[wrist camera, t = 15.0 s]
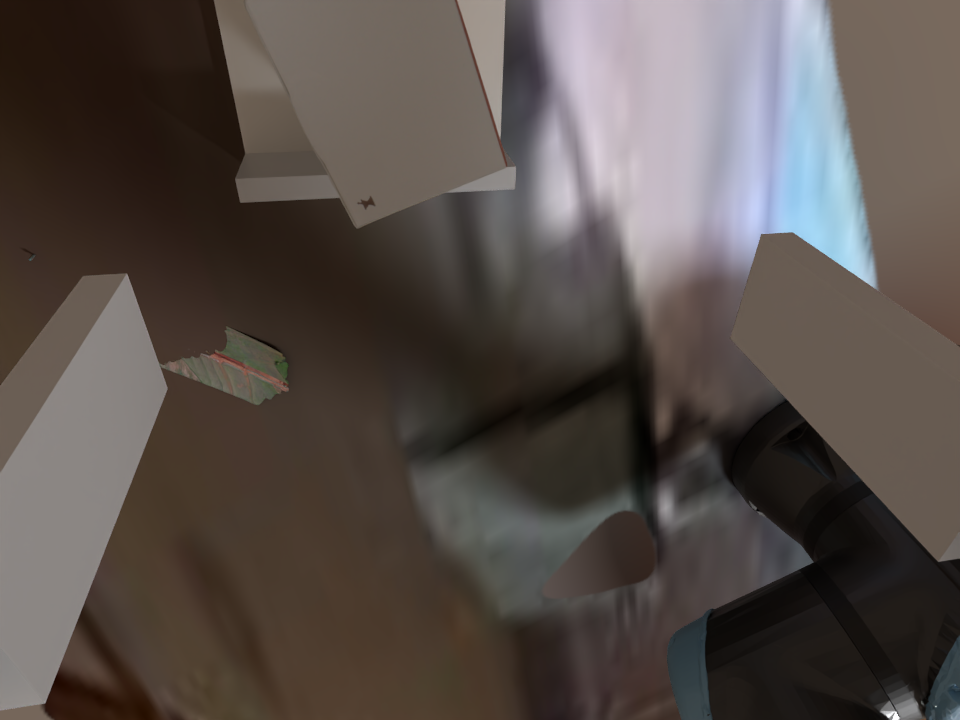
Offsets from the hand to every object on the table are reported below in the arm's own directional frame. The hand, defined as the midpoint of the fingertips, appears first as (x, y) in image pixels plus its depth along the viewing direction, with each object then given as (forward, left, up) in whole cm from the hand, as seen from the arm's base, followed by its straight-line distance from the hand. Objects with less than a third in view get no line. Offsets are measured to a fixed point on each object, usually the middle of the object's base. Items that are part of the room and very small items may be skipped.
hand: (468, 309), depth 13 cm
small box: (+1, -2, -24) cm, 24 cm away
